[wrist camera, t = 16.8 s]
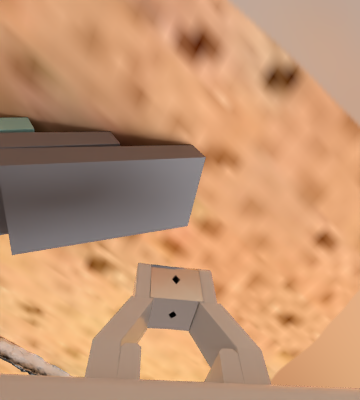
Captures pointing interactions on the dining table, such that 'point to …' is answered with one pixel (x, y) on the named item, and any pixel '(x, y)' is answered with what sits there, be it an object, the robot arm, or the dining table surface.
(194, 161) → the domino
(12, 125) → the teal domino
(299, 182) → the dining table surface
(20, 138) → the domino
